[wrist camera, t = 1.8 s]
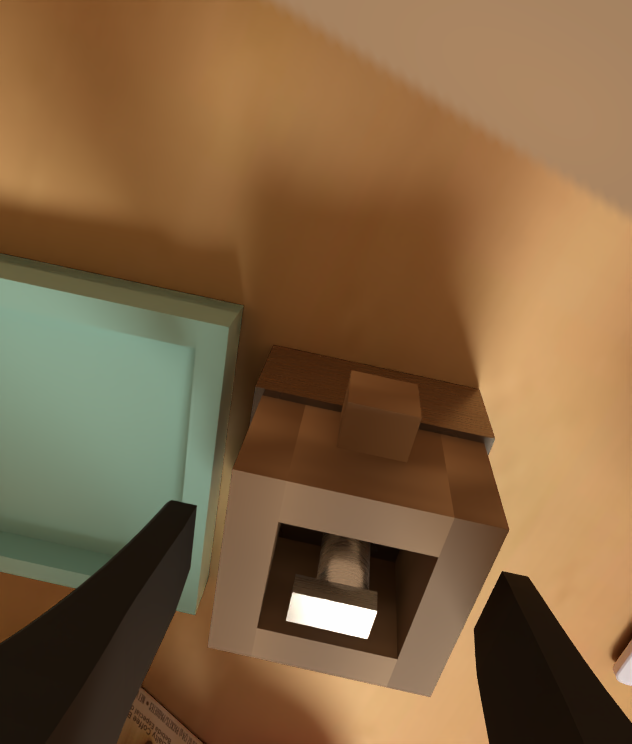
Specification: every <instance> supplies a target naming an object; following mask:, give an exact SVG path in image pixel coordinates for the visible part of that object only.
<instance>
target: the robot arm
mask: <svg viewBox="0 0 632 744" xmlns="http://www.w3.org/2000/svg"><path fill="white" fill-rule="evenodd" d="M196 511H197V505H193V504H188V503H184V502H179V501H175V500H170V501H169V502H167V503H166V504H165V505H164V506H163V507H162V508H161V509H160V511H159V512H158V513H157V514H156V515H155V516H154V517H153V518H152V519H151V520H150V521H149V522H148V523H147V524H146V525H145V526H144V528H143V529H142V530H141V531H140V532H139V533H138V534H137V535H135V536H134V537H133V538H132V539H131V540H130V541H129V542H128V543H127V544H126V545H125V546H124V547H123V548H122V549H121V550H120V551H119V552H118V553H117V554H115V555H114V556H113V557H112V558H111V559H110V560H109V561H108V562H107V563H106V564H105V565H104V566H102V567H101V568H100V569H99V570H98V571H97V572H95V573H94V574H93V575H92V576H91V577H89V578H88V579H87V580H86V581H85V582H83V583H82V584H81V585H80V586H79V587H77V588H76V589H75V590H74V591H73V592H71V593H70V594H69V595H68V596H66V597H65V598H64V599H63V600H61V601H60V602H59V603H57V604H56V605H55V606H53V607H52V608H51V609H49V610H48V611H47V612H45V613H44V614H43V615H41V616H40V617H38V618H37V619H36V620H34V621H33V622H31V623H30V624H29V625H27V626H26V627H24V628H23V629H21V630H20V631H18V632H17V633H15V634H14V635H12V636H11V637H9V638H8V639H6V640H5V641H3V642H2V643H0V744H117V742H118V739H119V736H120V733H121V731H122V728H123V725H124V723H125V721H126V718H127V716H128V714H129V711H130V709H131V706H132V704H133V702H134V700H135V698H136V696H137V693H138V691H139V689H140V687H141V685H142V683H143V680H144V678H145V676H146V674H147V672H148V670H149V668H150V665H151V663H152V661H153V659H154V657H155V655H156V653H157V650H158V648H159V646H160V644H161V642H162V640H163V637H164V635H165V633H166V631H167V629H168V627H169V624H170V622H171V620H172V618H173V616H174V613H175V611H176V609H177V606H178V603H179V600H180V597H181V594H182V592H183V589H184V586H185V583H186V580H187V577H188V574H189V571H190V568H191V559H192V549H193V540H194V530H195V521H196ZM474 640H475V657H476V670H477V679H478V685H479V690H480V696H481V701H482V707H483V712H484V718H485V723H486V728H487V734H488V739H489V744H632V723H631V721H630V720H629V719H628V718H627V716H626V715H625V714H624V712H623V711H622V710H621V709H620V707H619V706H618V705H617V703H616V702H615V701H614V700H613V698H612V697H611V696H610V694H609V693H608V692H607V690H606V689H605V688H604V686H603V685H602V684H601V682H600V681H599V680H598V678H597V677H596V676H595V674H594V673H593V671H592V670H591V669H590V667H589V666H588V664H587V663H586V662H585V660H584V659H583V657H582V656H581V654H580V653H579V652H578V650H577V649H576V647H575V646H574V644H573V643H572V641H571V640H570V639H569V637H568V636H567V634H566V633H565V631H564V630H563V628H562V627H561V625H560V624H559V622H558V621H557V619H556V618H555V616H554V615H553V613H552V612H551V610H550V609H549V607H548V606H547V604H546V603H545V601H544V600H543V598H542V597H541V595H540V594H539V592H538V591H537V589H536V588H535V586H534V585H533V583H532V582H531V580H530V579H529V577H527V576H522V575H518V574H513V573H509V572H504V571H502V572H501V574H500V576H499V579H498V581H497V583H496V585H495V587H494V589H493V591H492V593H491V595H490V597H489V599H488V601H487V603H486V605H485V607H484V609H483V611H482V613H481V615H480V617H479V619H478V622H477V624H476V626H475V628H474ZM613 671H614V673H615V676H616V678H617V680H618V681H619V682H621V683H623V684H626V685H630V686H632V640H631V641H630V643H629V644H628V646H627V647H626V648H625V650H624V651H623V653H622V654H621V655H620V657H619V658H618V660H617V661H616V663H615V664H614V666H613Z"/></svg>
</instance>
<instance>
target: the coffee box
mask: <svg viewBox="0 0 632 744" xmlns="http://www.w3.org/2000/svg"><path fill="white" fill-rule="evenodd" d="M117 744H203V743H202V742H201V741H200V740H199V739H198V738H197V737H195V736H194V735H193V734H192V733H191V732H190V731H189V730H188V729H187V728H185V727H184V726H183V725H182V724H181V723H180V722H179V721H178V720H177V719H176V718H175V717H173V716H172V715H171V714H170V713H169V712H168V711H167V710H166V709H165V708H164V707H162V706H161V705H160V704H159V703H158V702H157V701H156V700H155V699H154V698H153V697H151V696H150V695H149V694H148V693H147V692H146V691H145V690H144V689H143V688H142V687H140V689H139V691H138V693H137V696H136V698H135V700H134V702H133V704H132V706H131V709H130V711H129V714H128V716H127V718H126V721H125V723H124V725H123V728H122V731H121V733H120V736H119V739H118V742H117Z"/></svg>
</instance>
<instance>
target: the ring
mask: <svg viewBox="0 0 632 744" xmlns="http://www.w3.org/2000/svg"><path fill="white" fill-rule="evenodd" d="M421 419H422V416H421V407H420V399H419V390H418V384H413V383H409V382H404V381H399V380H395V379H390V378H385V377H381V376H376V375H372V374H367V373H362V372H358V371H353V370H351V374H350V379H349V383H348V387H347V391H346V395H345V399H344V403H343V407H342V411H341V412H337V411H333V410H328V409H323V408H319V407H314V406H309V405H305V404H300V403H296V402H291V401H286V400H282V399H277V398H273V397H268V396H263V395H262V397H261V399H260V402H259V404H258V407H257V409H256V412H255V414H254V417H253V419H252V422H251V424H250V427H249V429H248V432H247V434H246V437H245V439H244V442H243V444H242V447H241V449H240V452H239V454H238V457H237V459H236V462H235V464H234V467H233V469H232V476H231V483H230V490H229V497H228V505H227V512H226V519H225V526H224V533H223V540H222V547H221V555H220V562H219V569H218V576H217V583H216V590H215V597H214V605H213V612H212V619H211V626H210V633H209V640H208V648H213V649H217V650H222V651H226V652H231V653H235V654H240V655H244V656H249V657H253V658H257V659H262V660H266V661H271V662H275V663H280V664H284V665H289V666H293V667H298V668H302V669H307V670H311V671H316V672H320V673H325V674H329V675H334V676H338V677H343V678H347V679H351V680H356V681H360V682H365V683H369V684H374V685H378V686H383V687H387V688H392V689H396V690H401V691H405V692H410V693H414V694H419V695H423V696H428V697H431V695H432V692H433V690H434V688H435V686H436V684H437V682H438V680H439V678H440V675H441V673H442V671H443V669H444V667H445V665H446V663H447V661H448V659H449V656H450V654H451V652H452V650H453V648H454V646H455V644H456V642H457V639H458V637H459V635H460V633H461V631H462V629H463V627H464V625H465V623H466V620H467V618H468V616H469V614H470V612H471V610H472V608H473V606H474V604H475V601H476V599H477V597H478V595H479V593H480V591H481V589H482V587H483V584H484V582H485V580H486V578H487V576H488V574H489V572H490V570H491V568H492V565H493V563H494V561H495V559H496V557H497V555H498V553H499V551H500V548H501V546H502V544H503V542H504V540H505V538H506V536H507V534H508V532H509V527H508V524H507V520H506V517H505V513H504V510H503V506H502V503H501V499H500V496H499V492H498V489H497V485H496V482H495V478H494V475H493V472H492V468H491V465H490V461H489V458H488V454H487V451H486V447H485V444H484V443H480V442H475V441H471V440H466V439H462V438H457V437H452V436H448V435H443V434H439V433H434V432H429V431H425V430H420V429H418V428H419V425H420V422H421ZM281 523H285V524H289V525H294V526H299V527H303V528H308V529H312V530H317V531H321V532H326V533H330V534H335V535H339V536H344V537H349V538H353V539H358V540H362V541H367V542H371V543H376V544H380V545H385V546H389V547H394V548H399V549H400V550H399V553H398V556H397V559H396V562H390V561H386V560H381V559H377V558H372V557H370V574H369V590H371V591H376V592H377V613H376V616H375V618H374V621H373V624H372V627H371V630H370V633H369V635H368V638H367V639H366V638H361V637H357V636H352V635H348V634H343V633H339V632H334V631H330V630H325V629H321V628H316V627H312V626H307V625H303V624H298V623H294V622H289V621H286V617H287V612H288V606H289V601H290V597H291V593H292V588H293V584H294V580H295V576H296V574H299V575H304V576H308V577H313V578H317V573H318V565H319V558H320V551H321V546H318V545H313V544H309V543H304V542H299V541H295V540H290V539H286V538H281V537H279V532H280V527H281Z"/></svg>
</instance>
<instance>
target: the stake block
mask: <svg viewBox="0 0 632 744" xmlns="http://www.w3.org/2000/svg"><path fill="white" fill-rule="evenodd" d="M351 370H353V371H358V372H362V373H367V374H372V375H376V376H381V377H385V378H390V379H395V380H399V381H404V382H409V383H413V384H418V390H419V399H420V407H421V416H422V419H421V422H420V425H419V428H418V429H420V430H425V431H429V432H434V433H439V434H443V435H448V436H452V437H457V438H462V439H466V440H471V441H475V442H480V443H484V444H485V447H486V451H487V454H488V455H489V452H490V450H491V447H492V445H493V443H494V440H495V437H494V434H493V430H492V427H491V424H490V421H489V418H488V415H487V412H486V409H485V406H484V403H483V399H482V396H481V393H480V390H479V389H475V388H470V387H466V386H461V385H457V384H452V383H447V382H443V381H438V380H433V379H429V378H424V377H419V376H415V375H410V374H406V373H401V372H396V371H392V370H387V369H382V368H378V367H373V366H368V365H364V364H359V363H355V362H350V361H345V360H341V359H336V358H331V357H327V356H322V355H317V354H313V353H308V352H303V351H299V350H294V349H290V348H285V347H280V346H276V345H273V347H272V350H271V352H270V354H269V357H268V359H267V361H266V363H265V366H264V368H263V370H262V373H261V375H260V377H259V379H258V382H257V384H256V386H255V392H254V399H253V405H252V412H251V419H250V424H251V422H252V419H253V417H254V414H255V412H256V409H257V407H258V404H259V402H260V399H261V397H262V395H263V396H268V397H273V398H277V399H282V400H286V401H291V402H296V403H300V404H305V405H309V406H314V407H319V408H323V409H328V410H333V411H337V412H341V411H342V407H343V403H344V399H345V395H346V391H347V387H348V383H349V379H350V374H351ZM249 427H250V425H249ZM279 537H281V538H286V539H290V540H295V541H299V542H304V543H309V544H313V545H318V546H321V551H320V558H319V565H318V573H317V578H313V577H308V576H304V575H299V574H296V576H295V580H294V584H293V588H292V593H291V597H290V601H289V606H288V612H287V617H286V621H289V622H294V623H298V624H303V625H307V626H312V627H316V628H321V629H325V630H330V631H334V632H339V633H343V634H348V635H352V636H357V637H361V638H366V639H367V638H368V635H369V633H370V630H371V627H372V624H373V621H374V618H375V616H376V613H377V592H376V591H371V590H369V574H370V557H372V558H377V559H381V560H386V561H390V562H396V559H397V556H398V553H399V550H400V549H399V548H394V547H389V546H385V545H380V544H376V543H371V542H367V541H362V540H358V539H353V538H349V537H344V536H339V535H335V534H330V533H326V532H321V531H317V530H312V529H308V528H303V527H299V526H294V525H289V524H285V523H281V527H280V532H279Z"/></svg>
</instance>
